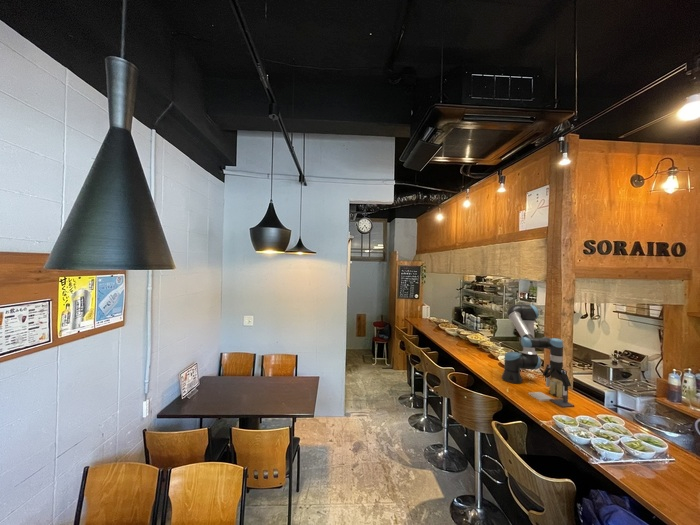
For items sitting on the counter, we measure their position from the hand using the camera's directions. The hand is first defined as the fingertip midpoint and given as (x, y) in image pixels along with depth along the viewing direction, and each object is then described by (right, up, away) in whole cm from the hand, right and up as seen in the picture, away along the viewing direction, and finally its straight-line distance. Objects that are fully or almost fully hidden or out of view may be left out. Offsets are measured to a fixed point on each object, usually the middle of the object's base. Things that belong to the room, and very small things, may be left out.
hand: (556, 390), depth 202 cm
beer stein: (+13, -10, +18) cm, 24 cm away
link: (0, -3, 0) cm, 3 cm away
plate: (-4, -10, +11) cm, 15 cm away
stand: (+3, -10, +1) cm, 10 cm away
